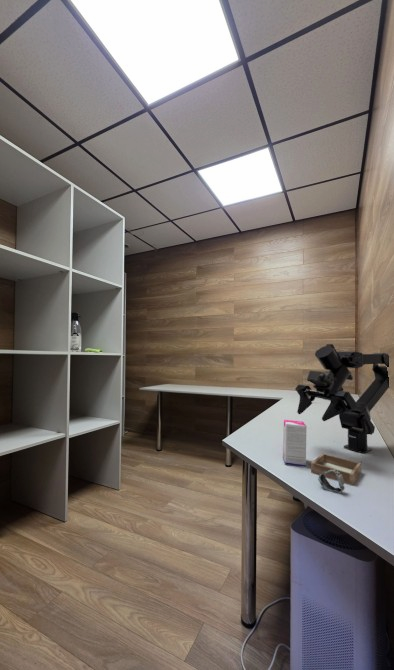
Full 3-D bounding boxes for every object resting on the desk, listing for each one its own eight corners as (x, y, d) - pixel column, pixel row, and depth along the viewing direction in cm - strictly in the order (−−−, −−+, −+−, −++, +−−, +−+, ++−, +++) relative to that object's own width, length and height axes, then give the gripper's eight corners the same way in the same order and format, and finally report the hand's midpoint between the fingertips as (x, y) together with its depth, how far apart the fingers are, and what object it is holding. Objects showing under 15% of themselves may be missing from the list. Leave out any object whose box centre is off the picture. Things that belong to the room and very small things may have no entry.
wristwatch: (334, 494, 64) (319, 473, 66) (351, 486, 61) (334, 464, 63) (328, 499, 62) (313, 478, 64) (345, 491, 59) (329, 469, 61)
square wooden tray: (322, 462, 79) (322, 453, 79) (361, 472, 72) (360, 463, 73) (311, 472, 72) (311, 462, 72) (352, 485, 65) (352, 474, 65)
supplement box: (306, 467, 75) (306, 425, 76) (284, 464, 76) (285, 423, 77) (302, 459, 81) (303, 420, 82) (282, 457, 82) (282, 419, 83)
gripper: (299, 361, 94) (274, 393, 89) (350, 363, 77) (323, 404, 72) (315, 383, 97) (292, 416, 91) (367, 390, 80) (342, 431, 75)
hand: (310, 416), depth 82 cm, fingers open, 9 cm apart
